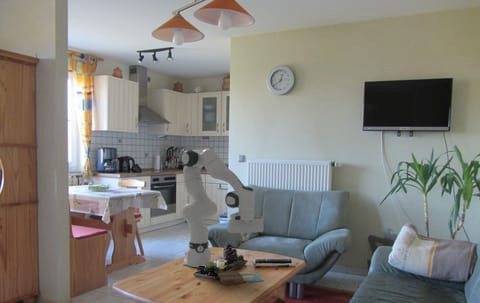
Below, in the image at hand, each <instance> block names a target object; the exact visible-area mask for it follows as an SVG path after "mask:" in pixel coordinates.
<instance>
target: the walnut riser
mask: <svg viewBox="0 0 480 303" xmlns="http://www.w3.org/2000/svg"><path fill="white" fill-rule="evenodd" d="M220 272H221V273H219V276H220V279H219V280H220V283H221V284H222V285H223V286H230V285H232V286H233V285H243V284H244V281H243V278H242V277H241V276H240V274H239V271H237V270H228V271H220Z"/></svg>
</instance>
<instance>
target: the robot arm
mask: <svg viewBox="0 0 480 303" xmlns="http://www.w3.org/2000/svg"><path fill="white" fill-rule="evenodd" d="M180 160H181V164H182V165H183V171H182V174H183V182H184V185H185V190H186V194H187V196H188V197H190V198H191V199H192V200H193V201H194V202H189V203H187V204H183V206H182V207H181V210H180V213H181V217H182V219H183V220H184V221H186V222H187V224H188V227H189V241H188V242H189V243H188V249H187V251H185V252H184V255H185V256H184V260H183V262H182V264H183V266H187V267H191V268H192V267H193V268H200V267H199V266H202V265H203V264H205V263H206V262H211V261H213V260H212V253H211V252H212V251H211V249H210V248H209V229H208V228H207V226H205V225H204V223H203V220H205V219H210V218H211V217H214V216H215V215H217V212H218V206H217V204H216V202H215V201H213V200H212V199H211V198H210V197H209V196H208V194H207V192H206V189H205V188H204V183H203V180H202V179H203V178H202V174H201V170H206V172H207V174H208V175H209V176H210V178H212V179H215V180H220V181H222V182H223V181H224V182H225V183H228V184H229V185H230V186H231V188H232V189H233V190H231V191H229V192H227V194H226V195H225V198H224V200H225V204H226V206H227V207H229V208H230V209H237V208H238V211H237V212H234V213H231V214H230V215H229V217H230V219H229V221H228V226H227V232H229V233H230V234H240V235H241V236H242V241H243V242H245V241H248V242H249V238H250V236H251V233H263V232H264V230H265V229H264V222H265V219H264V216H262V215H255V202H256V199H255V198H256V197H255V194H256V193H255V189H254V188H253V187H251V186H246V185H244V184H243V183H242V181H241V180H240V178H239V177H238V176H237V175H236V174H235V172H233V171H232V170H231V169H230V168H229V167H227V165H226V164H225V163H224V161H223V160H222V159H221V157H220V155H219V154H218V153H217V152H216V151H215V150H214V149H212V148H206V149H201V148H200V149H199V148H198V149H197V148H196V149H187V150H185V151H183V152H182V153H181V158H180ZM245 234H247V235H246V236H244V235H245Z"/></svg>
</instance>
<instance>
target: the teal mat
mask: <svg viewBox="0 0 480 303" xmlns="http://www.w3.org/2000/svg"><path fill="white" fill-rule="evenodd" d="M250 273H251V274H252V275H253V277H254V280H253V281H244V282H245V283H255V282H256V283H257V282H263V281H264V279H263V278H262V277H261V276H260V275H259V274H258V273H257V272H255V273H252V272H250Z"/></svg>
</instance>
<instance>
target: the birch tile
mask: <svg viewBox="0 0 480 303" xmlns="http://www.w3.org/2000/svg"><path fill="white" fill-rule="evenodd" d="M238 273H239V274H240V276H241V277H242V278H243V282H245V281H253V280H254V277H253V275H252V274H251V273H252V272H250V271H238Z"/></svg>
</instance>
